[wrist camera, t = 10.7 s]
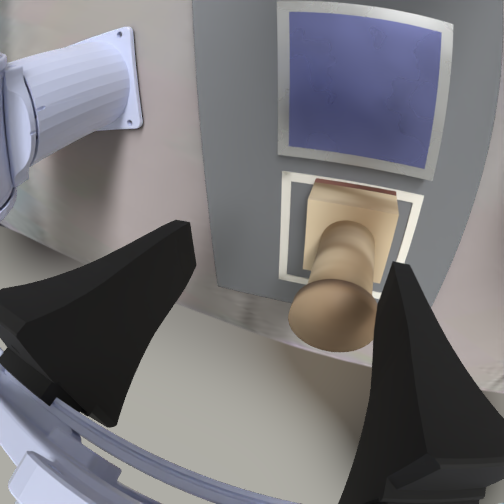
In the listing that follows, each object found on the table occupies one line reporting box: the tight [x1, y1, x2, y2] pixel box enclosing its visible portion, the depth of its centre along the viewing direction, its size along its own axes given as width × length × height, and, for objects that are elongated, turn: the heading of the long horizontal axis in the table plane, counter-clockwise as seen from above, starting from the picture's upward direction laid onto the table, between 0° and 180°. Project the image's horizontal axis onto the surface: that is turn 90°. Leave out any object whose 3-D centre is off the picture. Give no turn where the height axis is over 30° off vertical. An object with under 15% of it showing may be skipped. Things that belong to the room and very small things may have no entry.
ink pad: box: [277, 1, 453, 181], centre depth 14 cm, size 9×9×2 cm
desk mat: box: [192, 0, 503, 307], centre depth 16 cm, size 18×30×1 cm, turn 1°
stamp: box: [288, 178, 399, 352], centre depth 16 cm, size 5×5×9 cm
